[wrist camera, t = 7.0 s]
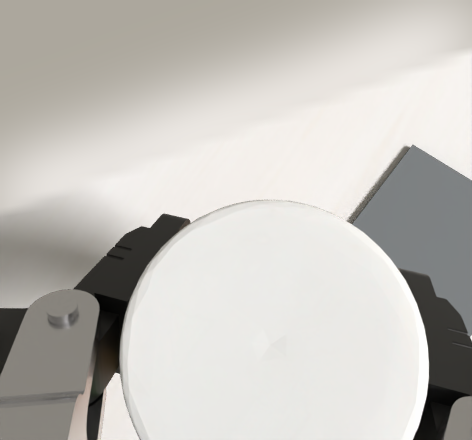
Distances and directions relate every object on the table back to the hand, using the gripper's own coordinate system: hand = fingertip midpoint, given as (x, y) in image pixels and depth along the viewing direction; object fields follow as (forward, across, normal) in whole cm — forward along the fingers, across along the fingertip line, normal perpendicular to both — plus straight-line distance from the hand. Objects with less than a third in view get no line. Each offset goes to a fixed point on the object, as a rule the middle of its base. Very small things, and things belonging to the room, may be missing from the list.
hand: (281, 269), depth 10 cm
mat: (+16, -10, +6) cm, 20 cm away
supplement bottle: (+2, 0, +5) cm, 5 cm away
